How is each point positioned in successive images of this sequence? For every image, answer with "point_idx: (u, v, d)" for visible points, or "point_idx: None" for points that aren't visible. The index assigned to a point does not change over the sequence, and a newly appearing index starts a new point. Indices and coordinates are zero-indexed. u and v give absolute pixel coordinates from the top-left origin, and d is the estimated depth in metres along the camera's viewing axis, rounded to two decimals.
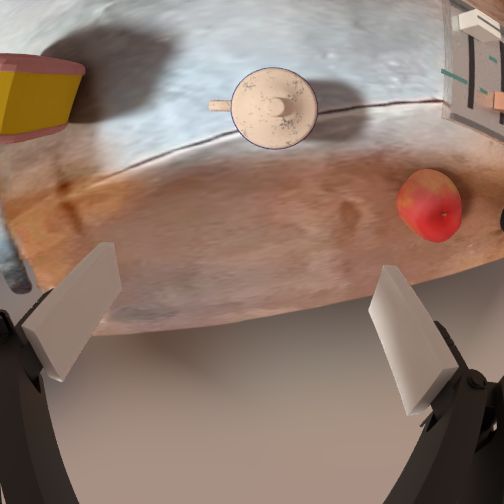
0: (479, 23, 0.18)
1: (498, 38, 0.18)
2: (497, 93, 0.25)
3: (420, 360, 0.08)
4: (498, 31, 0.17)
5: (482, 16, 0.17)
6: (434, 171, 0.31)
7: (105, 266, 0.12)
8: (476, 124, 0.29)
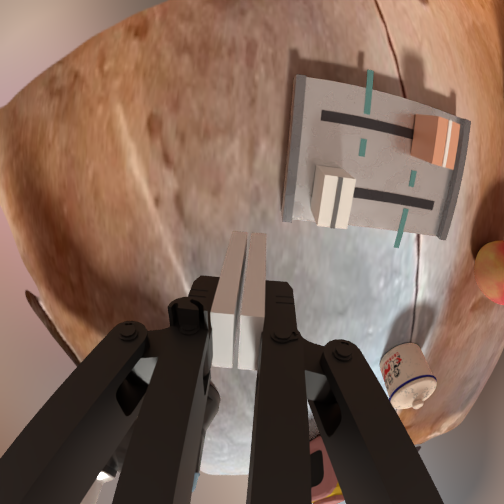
0: (343, 225, 0.27)
1: None
2: (415, 156, 0.27)
3: None
4: (341, 182, 0.25)
5: (327, 215, 0.26)
6: (483, 276, 0.30)
7: None
8: (451, 204, 0.29)
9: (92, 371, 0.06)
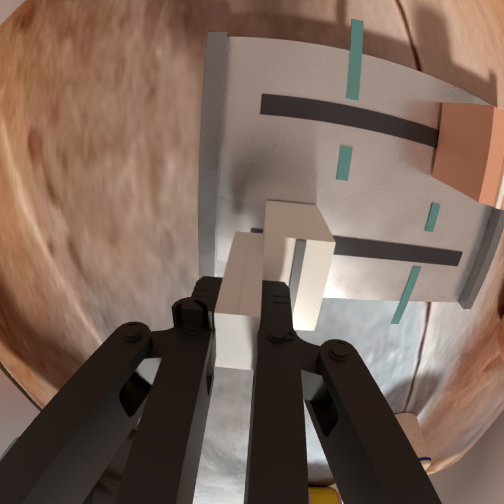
0: (308, 325, 0.14)
1: None
2: (440, 180, 0.14)
3: None
4: (303, 250, 0.12)
5: None
6: None
7: None
8: (488, 257, 0.16)
9: (95, 372, 0.06)
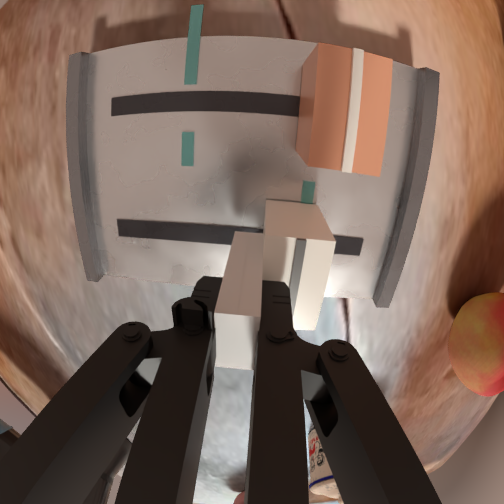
0: (308, 324, 0.14)
1: None
2: None
3: None
4: (303, 249, 0.12)
5: None
6: (459, 359, 0.18)
7: None
8: (400, 244, 0.16)
9: (95, 372, 0.06)
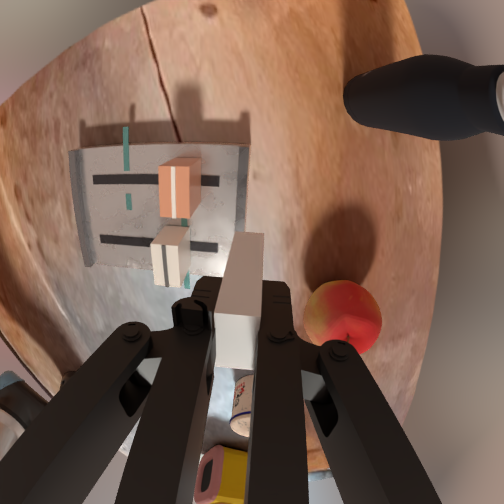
0: (176, 284, 0.30)
1: (178, 248, 0.28)
2: None
3: None
4: (165, 249, 0.28)
5: (160, 276, 0.30)
6: (304, 324, 0.34)
7: None
8: None
9: (95, 372, 0.06)
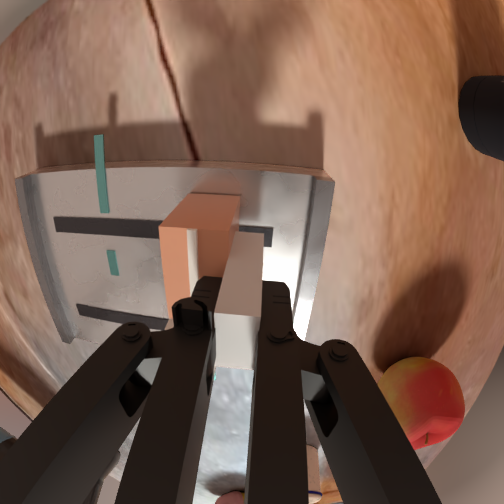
0: None
1: None
2: None
3: None
4: None
5: None
6: None
7: None
8: None
9: (95, 372, 0.06)
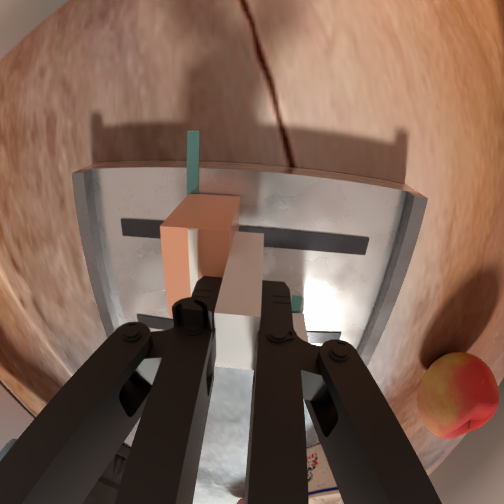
0: None
1: None
2: None
3: None
4: None
5: None
6: (423, 411, 0.21)
7: None
8: (371, 338, 0.20)
9: (95, 372, 0.06)
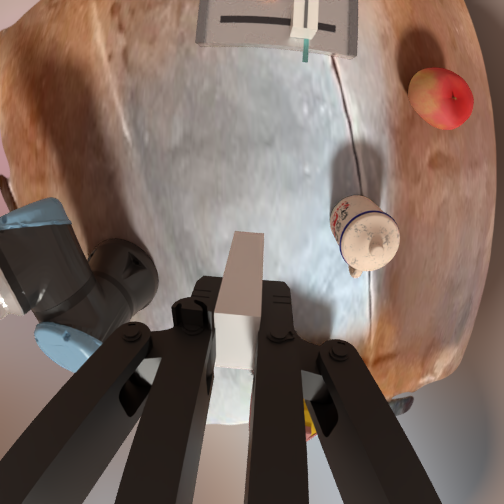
0: (314, 27, 0.25)
1: (318, 1, 0.24)
2: None
3: None
4: None
5: (300, 20, 0.25)
6: (414, 92, 0.29)
7: None
8: (352, 25, 0.28)
9: (95, 372, 0.06)
